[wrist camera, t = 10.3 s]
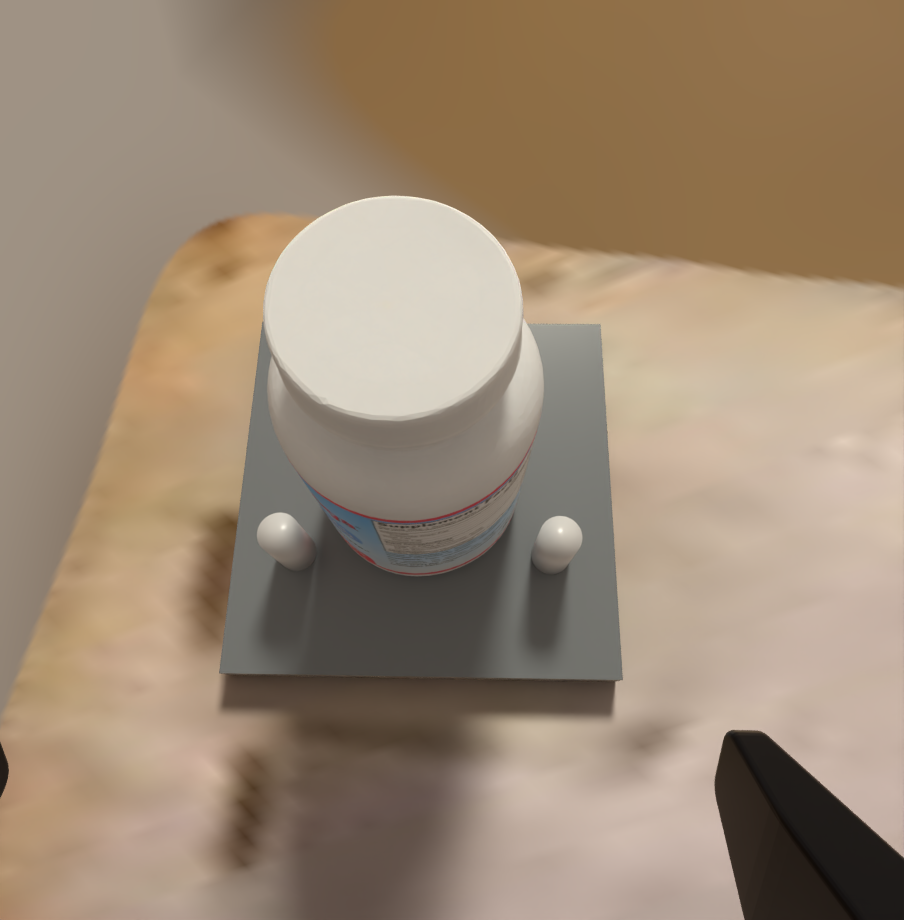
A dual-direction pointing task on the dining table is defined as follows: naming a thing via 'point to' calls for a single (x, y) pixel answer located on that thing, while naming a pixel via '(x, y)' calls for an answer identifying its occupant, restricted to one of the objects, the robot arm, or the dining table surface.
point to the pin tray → (448, 594)
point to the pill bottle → (404, 379)
